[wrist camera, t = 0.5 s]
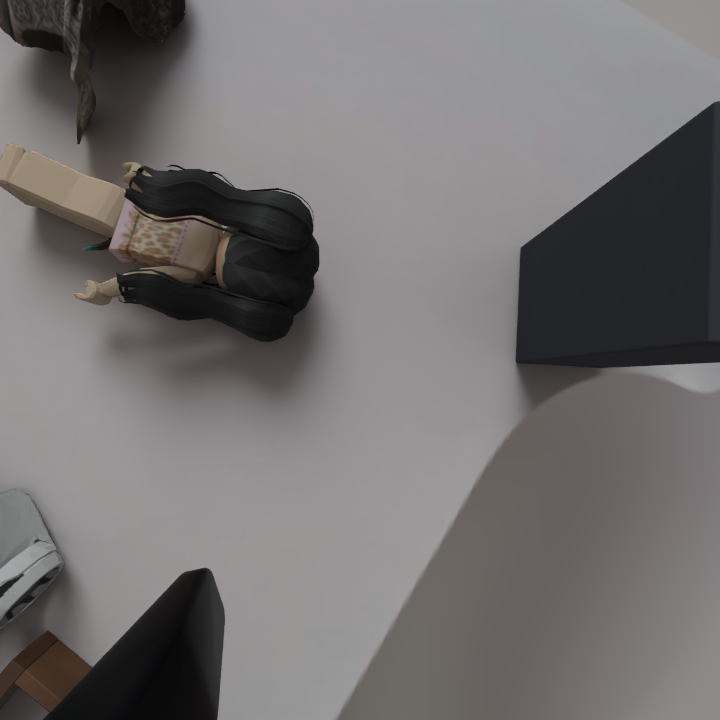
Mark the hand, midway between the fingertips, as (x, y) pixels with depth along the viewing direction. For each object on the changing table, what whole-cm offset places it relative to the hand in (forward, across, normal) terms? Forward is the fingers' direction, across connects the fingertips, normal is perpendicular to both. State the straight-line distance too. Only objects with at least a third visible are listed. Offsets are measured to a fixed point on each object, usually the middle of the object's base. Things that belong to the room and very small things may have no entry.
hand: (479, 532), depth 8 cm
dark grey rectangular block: (+17, -10, +1) cm, 19 cm away
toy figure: (+19, +9, -5) cm, 22 cm away
